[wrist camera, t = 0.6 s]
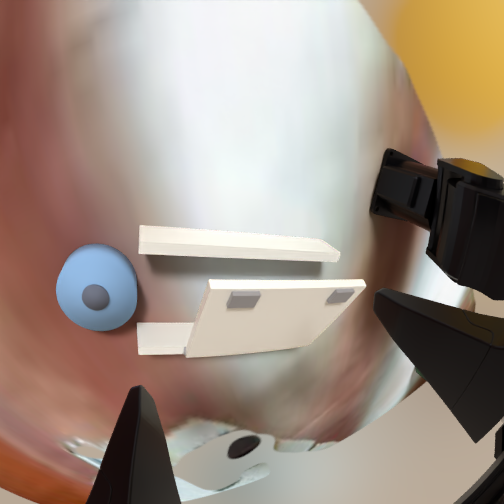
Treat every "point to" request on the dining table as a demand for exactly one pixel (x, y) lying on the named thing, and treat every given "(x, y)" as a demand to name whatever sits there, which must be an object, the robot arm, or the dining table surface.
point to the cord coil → (97, 287)
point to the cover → (266, 314)
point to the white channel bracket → (215, 245)
